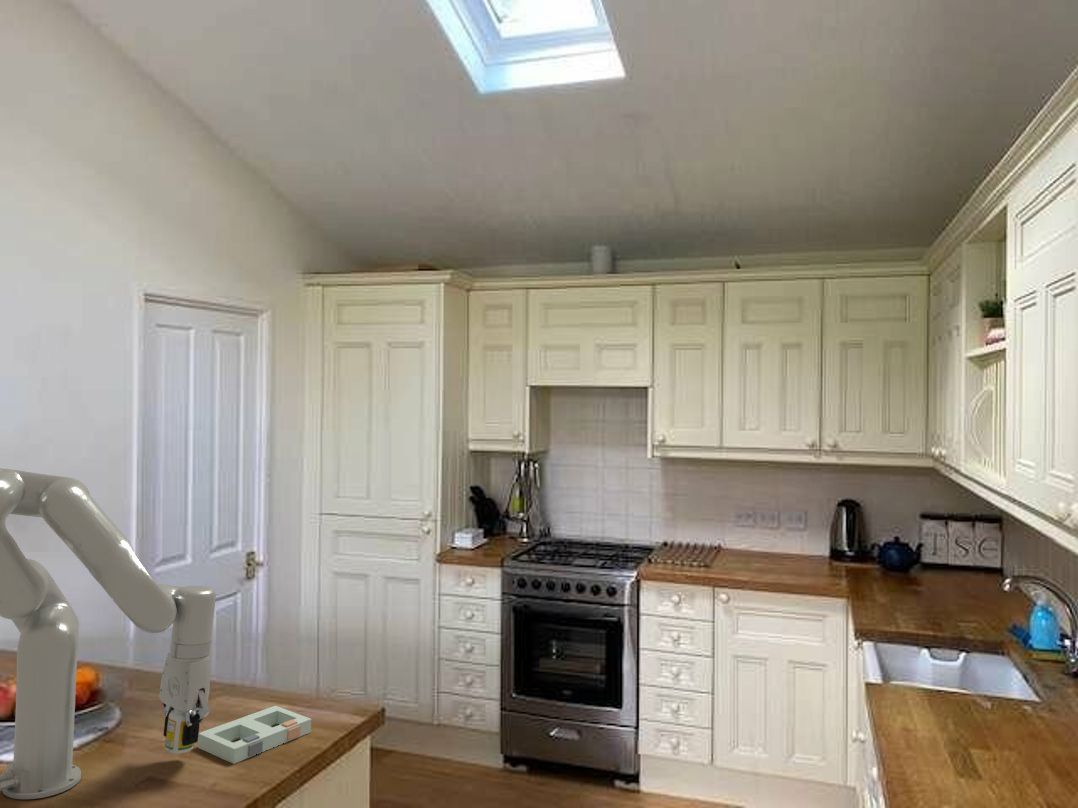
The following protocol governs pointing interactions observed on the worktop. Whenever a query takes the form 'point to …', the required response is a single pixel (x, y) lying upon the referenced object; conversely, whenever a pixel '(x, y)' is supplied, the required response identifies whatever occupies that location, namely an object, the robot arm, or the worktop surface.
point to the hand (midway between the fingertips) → (180, 738)
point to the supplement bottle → (176, 732)
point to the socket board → (253, 734)
